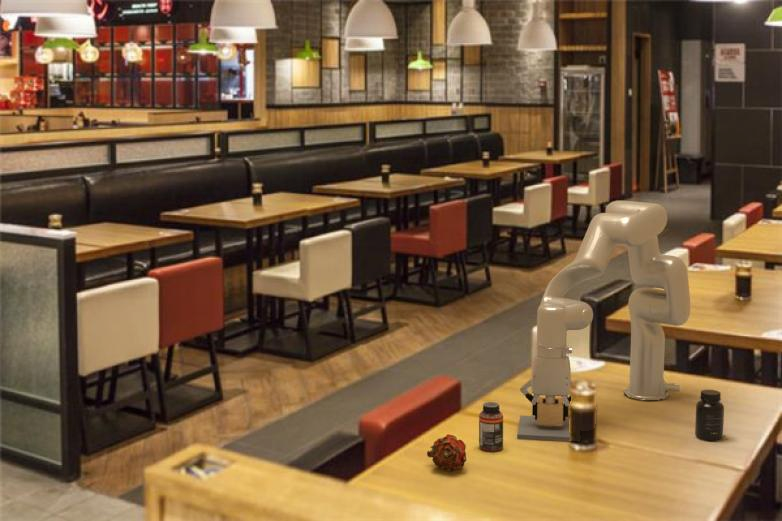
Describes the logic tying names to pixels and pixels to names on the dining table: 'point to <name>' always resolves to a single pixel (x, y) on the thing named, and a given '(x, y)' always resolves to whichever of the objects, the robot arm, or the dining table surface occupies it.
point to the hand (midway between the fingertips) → (550, 418)
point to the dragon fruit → (448, 453)
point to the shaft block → (542, 428)
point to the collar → (550, 412)
